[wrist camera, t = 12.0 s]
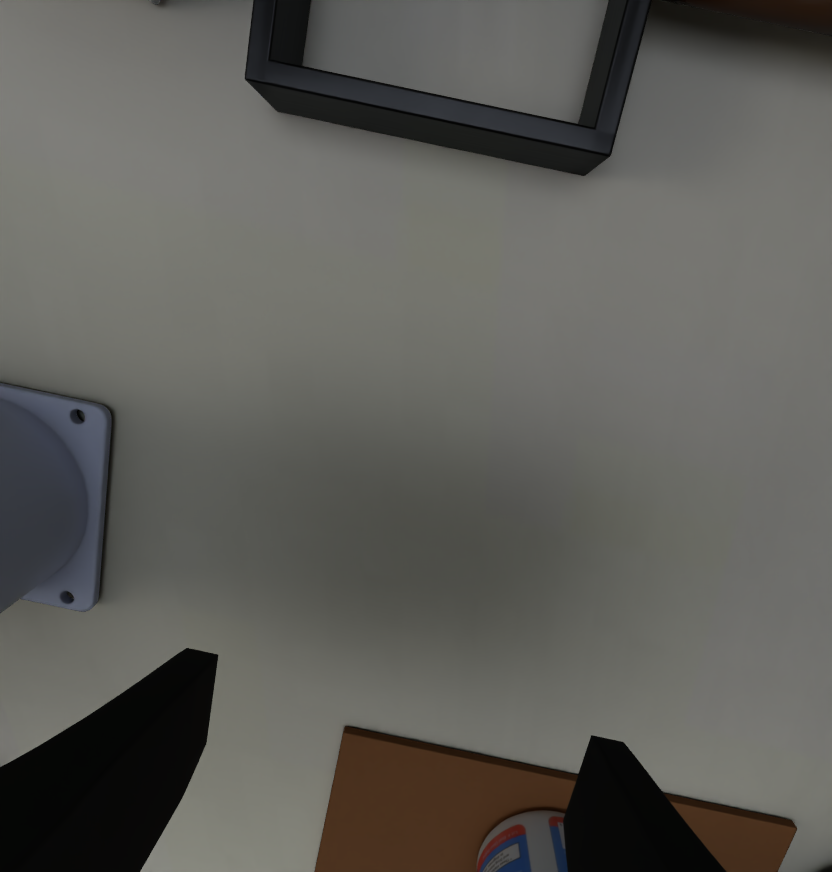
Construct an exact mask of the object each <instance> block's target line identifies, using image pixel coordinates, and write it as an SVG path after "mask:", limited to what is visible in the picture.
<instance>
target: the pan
mask: <svg viewBox="0 0 832 872" xmlns="http://www.w3.org/2000/svg"><path fill="white" fill-rule="evenodd" d="M662 1H667V2H672V3H676V4H681V5H686V6H691V7H695V8H700V9H705V10H710V11H714V12H719V13H724V14H729V15H733V16H738V17H743V18H748V19H752V20H757V21H762V22H767V23H772V24H776V25H781V26H786V27H791V28H795V29H800V30H805V31H810V32H814V33H819V34H824V35H829V36H832V0H662ZM310 2H311V0H254V2H253V10H252V19H251V28H250V36H249V45H248V54H247V62H246V71H245V80H246V81H247V82H248V83H249V84H250V85H251V86H252V87H253V88H254V89H255V90H256V91H257V92H258V93H259V94H260V95H261V96H262V97H263V98H264V99H265V100H266V101H267V102H268V103H269V104H270V105H271V106H272V107H273V108H274V109H275V110H276V111H278V112H283V113H287V114H292V115H297V116H302V117H307V118H311V119H316V120H321V121H326V122H330V123H335V124H340V125H345V126H349V127H354V128H359V129H364V130H368V131H373V132H378V133H383V134H387V135H392V136H397V137H402V138H407V139H411V140H416V141H421V142H426V143H430V144H435V145H440V146H445V147H449V148H454V149H459V150H464V151H468V152H473V153H478V154H483V155H487V156H492V157H497V158H502V159H506V160H511V161H516V162H521V163H525V164H530V165H535V166H540V167H544V168H549V169H554V170H559V171H563V172H568V173H573V174H578V175H582V176H585V175H586V174H588V173H589V172H590V171H592V170H593V169H594V168H595V167H597V166H598V165H599V164H601V163H602V162H603V161H604V160H606V159H607V158H608V157H610V155H611V153H612V149H613V145H614V142H615V138H616V134H617V130H618V127H619V123H620V119H621V115H622V111H623V108H624V104H625V100H626V96H627V93H628V89H629V85H630V81H631V77H632V74H633V70H634V66H635V62H636V59H637V55H638V51H639V47H640V43H641V40H642V36H643V32H644V28H645V25H646V21H647V17H648V13H649V9H650V6H651V2H652V0H609V3H608V7H607V11H606V15H605V19H604V23H603V27H602V31H601V35H600V39H599V43H598V47H597V51H596V55H595V59H594V63H593V67H592V71H591V75H590V79H589V83H588V87H587V91H586V95H585V99H584V103H583V108H582V112H581V116H580V120H579V124H575V123H570V122H566V121H561V120H556V119H551V118H546V117H542V116H537V115H532V114H527V113H523V112H518V111H513V110H508V109H504V108H499V107H494V106H489V105H485V104H480V103H475V102H470V101H466V100H461V99H456V98H451V97H447V96H442V95H437V94H432V93H428V92H423V91H418V90H413V89H409V88H404V87H399V86H394V85H390V84H385V83H380V82H375V81H371V80H366V79H361V78H356V77H352V76H347V75H342V74H337V73H333V72H328V71H323V70H318V69H314V68H309V67H304V66H302V60H303V53H304V46H305V38H306V31H307V24H308V16H309V9H310Z"/></svg>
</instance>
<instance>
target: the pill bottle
mask: <svg viewBox="0 0 832 872" xmlns="http://www.w3.org/2000/svg"><path fill="white" fill-rule="evenodd" d="M564 816H565V814H564V813H561V812H556V811H546V810H539V811H530V812H525V813H521V814H517V815H515V816H512V817H510V818H508V819H506V820H504V821H503V822H501V823H500V824H499V825H497V826H496V827H495V828H494V829H493V830H492V831H491V832H490V833H489V834H488V836H487V837H486V838H485V840H484V842H483V844H482V846H481V848H480V851H479V854H478V859H477V872H568V870H567V861H566V851H565V839H564V828H563V819H564Z"/></svg>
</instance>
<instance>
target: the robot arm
mask: <svg viewBox="0 0 832 872" xmlns="http://www.w3.org/2000/svg"><path fill="white" fill-rule="evenodd" d="M78 409H79V410H81V411H82V412H83V413H84V415H85V420H84V421H82V420H80V419H79V418H78V417H77V410H78ZM111 424H112V418H111V414H110V412H109V410H108V409H107V408H106V407H105V406H103V405H101V404H98V403H94V402H89V401H84V400H79V399H75V398H70V397H65V396H60V395H56V394H51V393H46V392H41V391H37V390H32V389H27V388H22V387H18V386H13V385H8V384H3V383H0V613H1V612H3V611H4V610H5V609H7V608H8V607H10V606H11V605H12V604H14V603H15V602H16V601H18V600H19V599H23V600H28V601H33V602H38V603H42V604H47V605H52V606H57V607H61V608H66V609H71V610H75V611H81V612H86V611H88V610H90V609H91V608H92V607H93V606H94V605H95V604H96V603H97V602H98V599H99V587H100V573H101V560H102V546H103V532H104V519H105V505H106V492H107V478H108V465H109V451H110V438H111ZM67 591H68V592H70V593H71V594H72V595H73V597H74V598H71V597H69V596H68V595H67ZM217 661H218V655H217V654H213V653H208V652H203V651H199V650H194V649H189V648H186V649H185V650H183V651H181V652H180V653H178V654H177V655H176V656H174V657H173V658H171V659H170V660H168V661H167V662H166V663H164V664H163V665H161V666H160V667H159V668H157V669H156V670H154V671H153V672H152V673H150V674H149V675H147V676H146V677H145V678H143V679H142V680H140V681H139V682H137V683H136V684H135V685H133V686H132V687H130V688H129V689H127V690H126V691H125V692H123V693H122V694H120V695H119V696H117V697H116V698H114V699H113V700H111V701H110V702H108V703H107V704H105V705H104V706H102V707H101V708H99V709H98V710H96V711H95V712H93V713H92V714H90V715H88V716H87V717H85V718H84V719H82V720H81V721H79V722H77V723H76V724H74V725H72V726H71V727H69V728H67V729H66V730H64V731H63V732H61V733H59V734H58V735H56V736H54V737H53V738H51V739H49V740H48V741H46V742H44V743H43V744H41V745H39V746H38V747H36V748H34V749H33V750H31V751H29V752H27V753H25V754H24V755H22V756H20V757H18V758H17V759H15V760H13V761H11V762H9V763H7V764H5V765H4V766H2V767H0V872H140V871H141V869H142V867H143V865H144V864H145V862H146V860H147V858H148V857H149V855H150V853H151V852H152V850H153V848H154V846H155V845H156V843H157V841H158V840H159V838H160V836H161V834H162V833H163V831H164V829H165V827H166V826H167V824H168V822H169V820H170V819H171V817H172V815H173V813H174V812H175V810H176V808H177V806H178V804H179V803H180V801H181V799H182V797H183V795H184V793H185V791H186V788H187V786H188V784H189V782H190V780H191V777H192V775H193V773H194V771H195V768H196V766H197V764H198V762H199V759H200V757H201V755H202V752H203V750H204V748H205V745H206V742H207V735H208V728H209V720H210V713H211V705H212V698H213V691H214V683H215V676H216V668H217ZM563 828H564V839H565V851H566V861H567V870H568V872H726V870H725V869H724V868H723V867H722V866H721V864H720V863H719V862H718V861H717V860H716V858H715V857H714V856H713V855H712V854H711V852H710V851H709V850H708V849H707V848H706V846H705V845H704V844H703V843H702V841H701V840H700V839H699V838H698V837H697V835H696V834H695V833H694V832H693V830H692V829H691V828H690V827H689V825H688V824H687V823H686V822H685V820H684V819H683V818H682V816H681V815H680V814H679V813H678V811H677V810H676V809H675V808H674V806H673V805H672V804H671V802H670V801H669V800H668V799H667V797H666V796H665V795H664V793H663V792H662V791H661V789H660V788H659V787H658V786H657V784H656V783H655V782H654V780H653V779H652V778H651V776H650V775H649V774H648V773H647V771H646V770H645V769H644V767H643V766H642V765H641V763H640V762H639V761H638V760H637V758H636V757H635V756H634V755H633V753H632V752H631V751H630V750H629V748H628V747H627V746H626V745H625V744H624V742H620V741H616V740H611V739H606V738H602V737H597V736H593V735H591V738H590V741H589V744H588V747H587V750H586V753H585V756H584V759H583V762H582V765H581V768H580V771H579V774H578V777H577V780H576V783H575V786H574V789H573V792H572V795H571V798H570V801H569V804H568V807H567V810H566V813H565V816H564V819H563Z"/></svg>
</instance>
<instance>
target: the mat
mask: <svg viewBox="0 0 832 872" xmlns="http://www.w3.org/2000/svg"><path fill="white" fill-rule="evenodd" d="M577 777H578V775H575V774H570V773H565V772H560V771H556V770H551V769H546V768H541V767H537V766H532V765H527V764H522V763H518V762H513V761H508V760H503V759H499V758H494V757H489V756H485V755H480V754H475V753H470V752H466V751H461V750H456V749H451V748H447V747H442V746H437V745H432V744H428V743H423V742H418V741H413V740H409V739H404V738H399V737H394V736H390V735H385V734H380V733H375V732H371V731H366V730H361V729H356V728H352V727H347V726H345V727H344V732H343V736H342V741H341V746H340V751H339V756H338V761H337V766H336V771H335V775H334V780H333V785H332V790H331V795H330V800H329V805H328V810H327V814H326V819H325V824H324V829H323V834H322V839H321V844H320V848H319V853H318V858H317V863H316V868H315V872H477V859H478V854H479V851H480V848H481V846H482V844H483V842H484V840H485V838H486V837H487V836H488V834H489V833H490V832H491V831H492V830H493V829H494V828H495V827H496V826H497V825H499V824H500V823H501V822H503V821H504V820H506V819H508V818H510V817H512V816H515V815H517V814H521V813H525V812H530V811H539V810H546V811H556V812H561V813H564V814H565V813H566V810H567V807H568V804H569V801H570V798H571V795H572V792H573V789H574V786H575V783H576V780H577ZM664 795H665V796H666V797H667V799H668V800H669V801H670V802H671V804H672V805H673V806H674V808H675V809H676V810H677V811H678V813H679V814H680V815H681V816H682V818H683V819H684V820H685V822H686V823H687V824H688V825H689V827H690V828H691V829H692V830H693V832H694V833H695V834H696V835H697V837H698V838H699V839H700V840H701V841H702V843H703V844H704V845H705V846H706V848H707V849H708V850H709V851H710V852H711V854H712V855H713V856H714V857H715V858H716V860H717V861H718V862H719V863H720V864H721V866H722V867H723V868H724V869H725V870H726V872H778V869H779V867H780V865H781V863H782V861H783V859H784V856H785V854H786V852H787V850H788V848H789V846H790V843H791V841H792V839H793V837H794V835H795V833H796V831H797V827H796V826H795V824H794V823H793V821H792V820H788V819H783V818H779V817H774V816H769V815H764V814H760V813H755V812H750V811H745V810H741V809H736V808H731V807H726V806H722V805H717V804H712V803H707V802H703V801H698V800H693V799H688V798H684V797H679V796H674V795H669V794H665V793H664Z"/></svg>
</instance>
